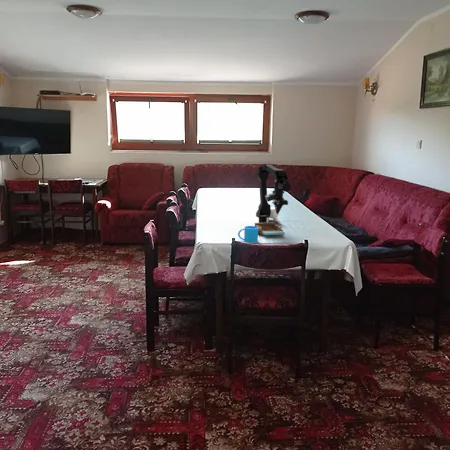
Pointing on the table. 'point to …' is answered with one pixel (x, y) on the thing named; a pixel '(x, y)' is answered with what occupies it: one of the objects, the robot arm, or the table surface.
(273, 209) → the cherub figurine
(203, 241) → the table surface
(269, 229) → the truck bed
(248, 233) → the mug
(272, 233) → the panel
